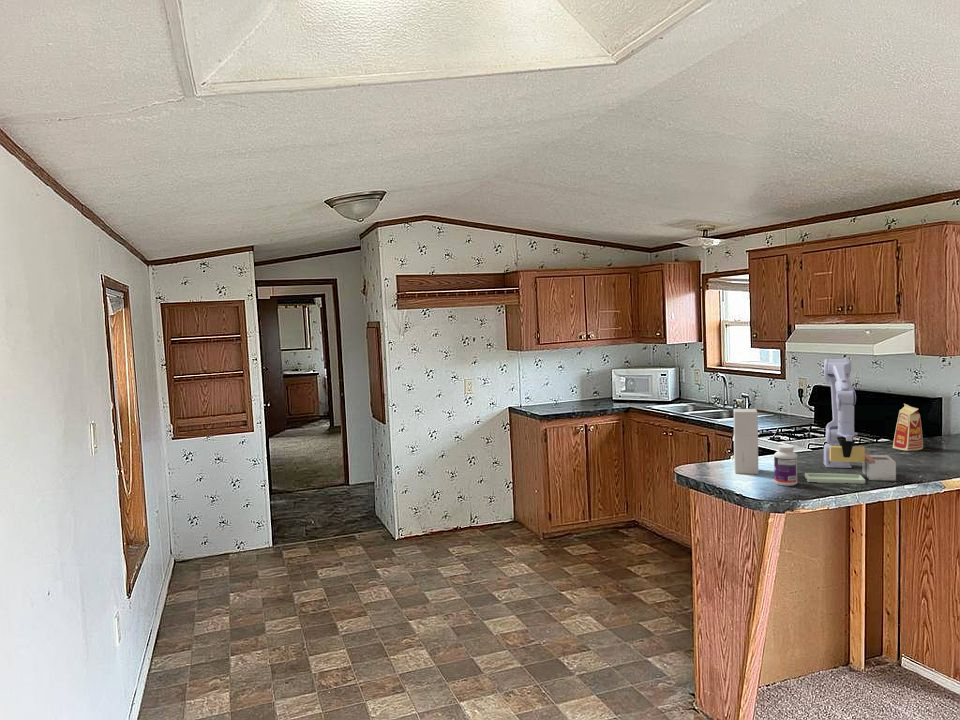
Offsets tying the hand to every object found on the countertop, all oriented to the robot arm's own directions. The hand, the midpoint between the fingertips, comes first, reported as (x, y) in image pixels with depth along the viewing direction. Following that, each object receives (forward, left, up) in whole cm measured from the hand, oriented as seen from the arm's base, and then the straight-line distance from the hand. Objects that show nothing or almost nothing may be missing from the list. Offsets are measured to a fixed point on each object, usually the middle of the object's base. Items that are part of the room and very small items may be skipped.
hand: (845, 456), depth 300 cm
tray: (-6, -9, -8) cm, 13 cm away
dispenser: (+11, 0, -8) cm, 14 cm away
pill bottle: (-24, -17, -8) cm, 30 cm away
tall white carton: (-37, +3, -8) cm, 37 cm away
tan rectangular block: (0, 0, -2) cm, 2 cm away
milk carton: (+35, +57, -8) cm, 68 cm away
